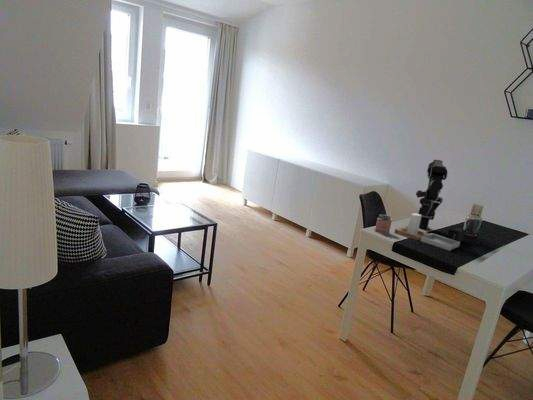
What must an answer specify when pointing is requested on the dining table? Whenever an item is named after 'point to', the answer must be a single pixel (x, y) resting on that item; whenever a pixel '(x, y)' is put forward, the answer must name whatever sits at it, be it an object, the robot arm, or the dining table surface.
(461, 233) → the digital camera
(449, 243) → the tray
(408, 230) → the skincare box
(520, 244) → the dining table surface
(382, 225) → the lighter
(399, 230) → the socket block
